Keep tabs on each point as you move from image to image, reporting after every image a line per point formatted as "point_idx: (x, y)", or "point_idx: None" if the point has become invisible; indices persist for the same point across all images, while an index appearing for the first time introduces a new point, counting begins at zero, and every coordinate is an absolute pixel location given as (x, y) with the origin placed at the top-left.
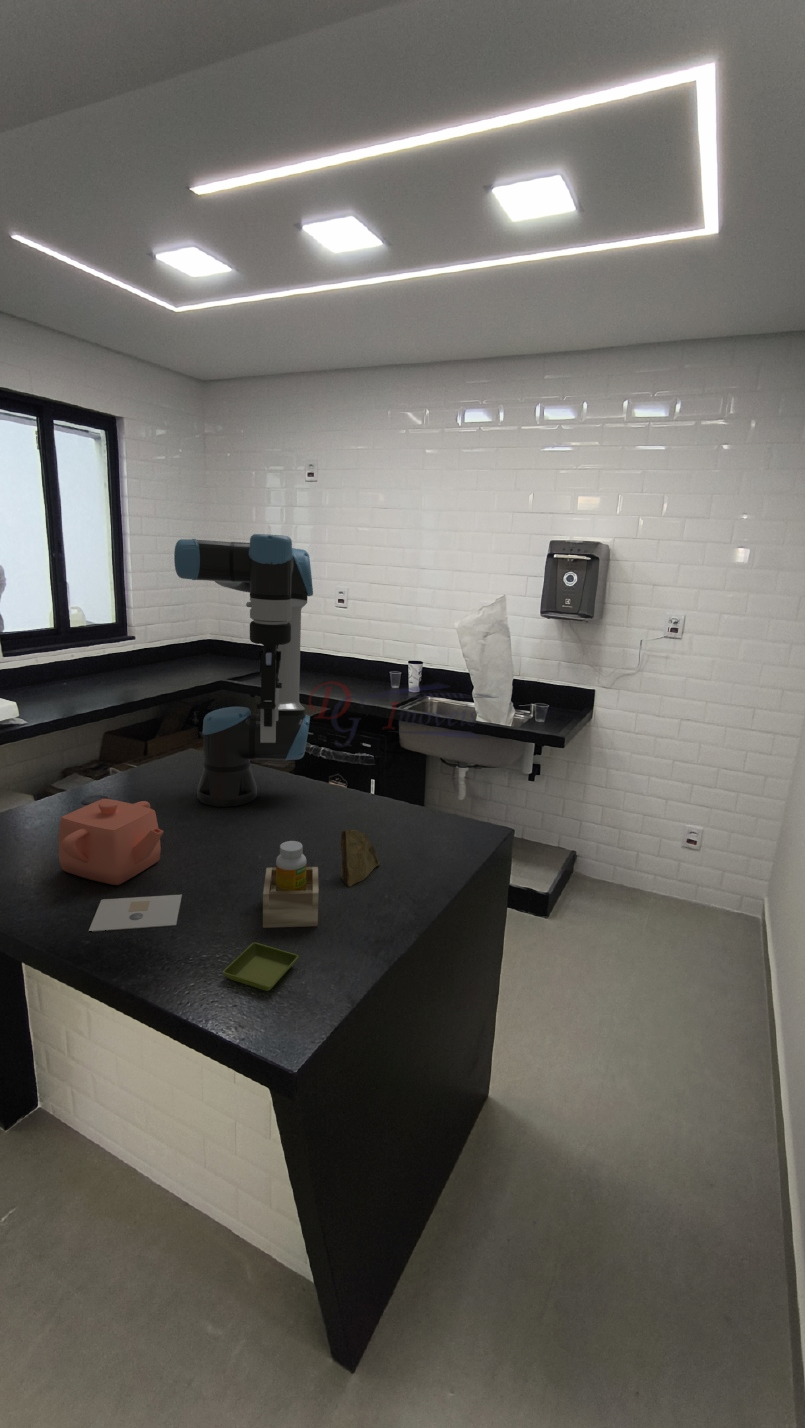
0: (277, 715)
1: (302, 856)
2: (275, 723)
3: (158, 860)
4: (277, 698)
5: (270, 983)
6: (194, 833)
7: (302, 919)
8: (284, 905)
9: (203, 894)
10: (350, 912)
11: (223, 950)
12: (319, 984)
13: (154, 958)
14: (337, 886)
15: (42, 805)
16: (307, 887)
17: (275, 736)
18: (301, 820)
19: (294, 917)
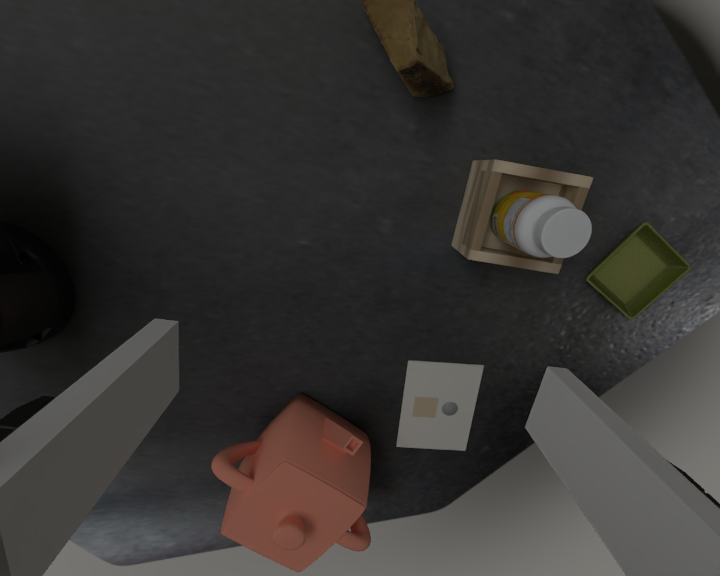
0: (162, 341)
1: (561, 205)
2: (647, 445)
3: (302, 394)
4: (77, 425)
5: (657, 261)
6: (198, 345)
7: None
8: None
9: (412, 333)
10: (537, 108)
11: (561, 311)
12: (687, 198)
13: None
14: (444, 112)
15: (90, 543)
16: (499, 183)
17: (587, 388)
18: (136, 134)
19: None
